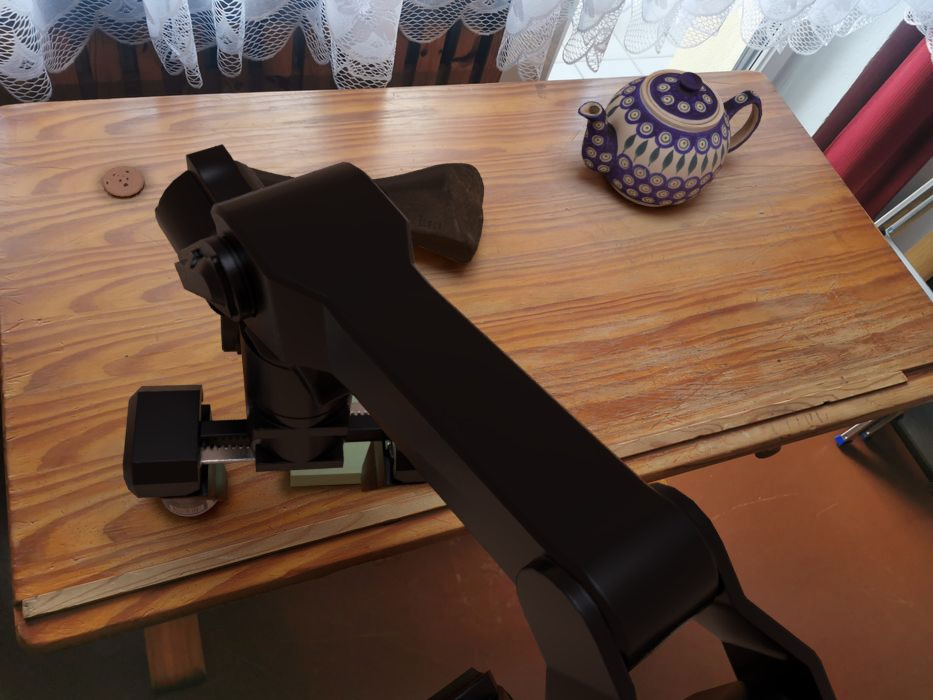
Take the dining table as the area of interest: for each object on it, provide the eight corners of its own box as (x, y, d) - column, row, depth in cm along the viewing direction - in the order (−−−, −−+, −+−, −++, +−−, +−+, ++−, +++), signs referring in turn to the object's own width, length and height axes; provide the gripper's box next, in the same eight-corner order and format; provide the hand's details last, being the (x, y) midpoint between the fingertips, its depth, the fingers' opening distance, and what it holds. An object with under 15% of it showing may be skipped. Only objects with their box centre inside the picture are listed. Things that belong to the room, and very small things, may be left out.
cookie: (100, 197, 77) (99, 190, 76) (105, 167, 79) (103, 160, 78) (143, 199, 78) (141, 192, 77) (146, 170, 80) (145, 163, 79)
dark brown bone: (476, 240, 87) (217, 244, 83) (480, 146, 81) (204, 145, 78) (491, 280, 77) (200, 287, 74) (497, 177, 72) (183, 178, 69)
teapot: (704, 130, 102) (762, 33, 90) (752, 216, 95) (823, 124, 83) (529, 135, 95) (567, 29, 82) (567, 229, 88) (615, 129, 75)
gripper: (454, 252, 47) (417, 383, 59) (119, 247, 42) (157, 390, 55) (483, 416, 41) (435, 523, 54) (98, 431, 36) (146, 543, 49)
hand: (296, 489), depth 53 cm, fingers open, 9 cm apart
